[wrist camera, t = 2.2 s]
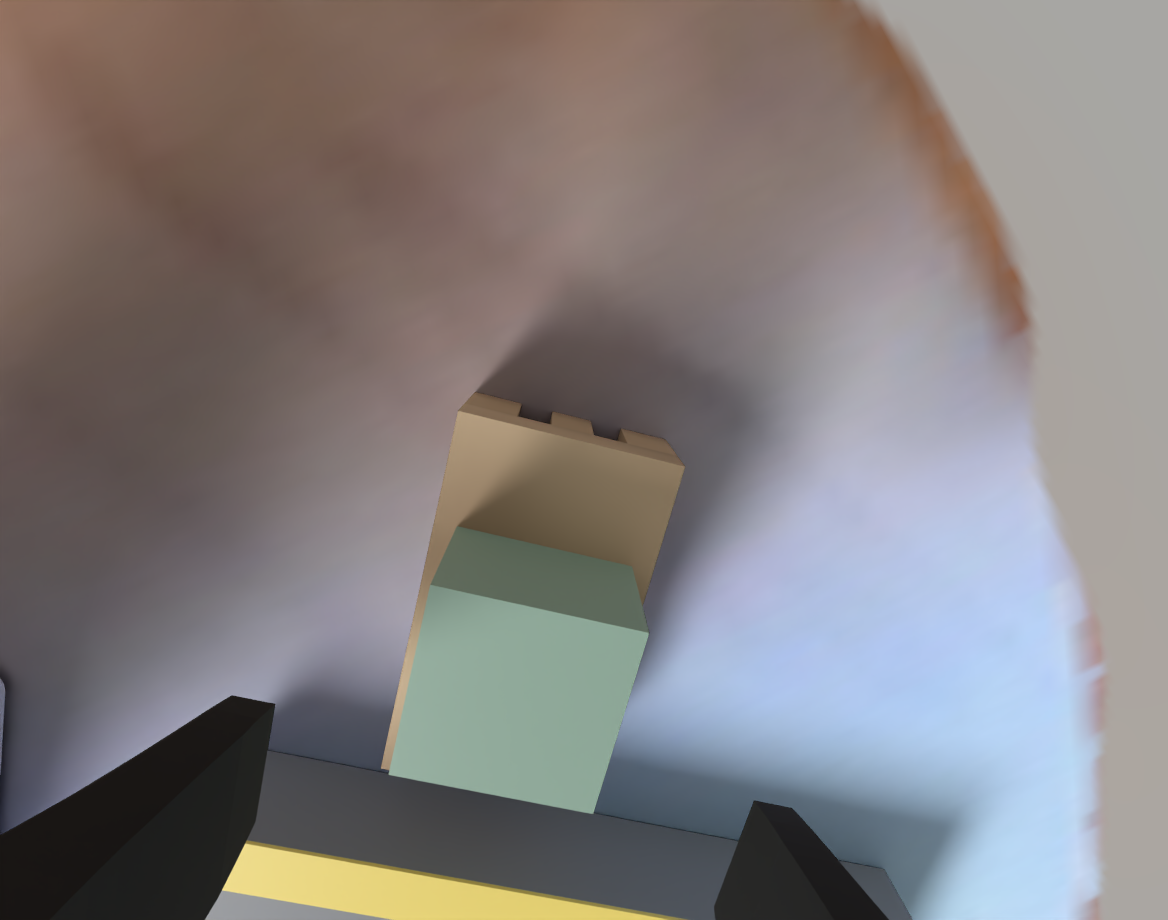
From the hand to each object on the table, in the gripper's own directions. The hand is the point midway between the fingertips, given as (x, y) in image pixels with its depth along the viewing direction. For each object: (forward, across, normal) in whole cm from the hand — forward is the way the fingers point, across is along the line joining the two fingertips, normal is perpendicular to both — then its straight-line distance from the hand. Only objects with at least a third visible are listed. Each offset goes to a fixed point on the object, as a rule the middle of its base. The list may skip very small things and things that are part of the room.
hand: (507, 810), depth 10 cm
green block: (+6, 0, 0) cm, 6 cm away
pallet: (+9, 0, 0) cm, 9 cm away
